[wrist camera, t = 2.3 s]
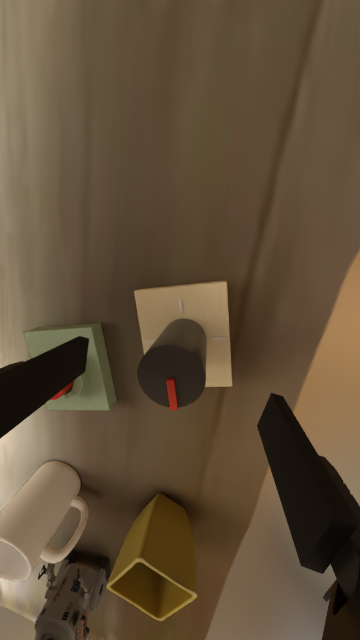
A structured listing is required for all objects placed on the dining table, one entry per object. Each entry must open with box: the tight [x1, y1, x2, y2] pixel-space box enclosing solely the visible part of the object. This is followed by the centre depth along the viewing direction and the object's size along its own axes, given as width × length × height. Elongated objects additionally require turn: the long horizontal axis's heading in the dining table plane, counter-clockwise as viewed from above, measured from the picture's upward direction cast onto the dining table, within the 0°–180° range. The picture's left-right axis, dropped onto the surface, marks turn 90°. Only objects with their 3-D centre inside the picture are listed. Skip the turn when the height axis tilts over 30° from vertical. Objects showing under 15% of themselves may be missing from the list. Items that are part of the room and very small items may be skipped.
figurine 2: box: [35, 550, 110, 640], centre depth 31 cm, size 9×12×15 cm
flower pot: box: [107, 493, 197, 621], centre depth 28 cm, size 9×9×9 cm
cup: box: [0, 461, 89, 581], centre depth 29 cm, size 8×12×10 cm
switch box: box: [23, 323, 117, 410], centre depth 26 cm, size 12×10×4 cm
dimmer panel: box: [134, 280, 232, 387], centre depth 23 cm, size 12×10×3 cm
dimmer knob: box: [138, 319, 207, 410], centre depth 17 cm, size 5×5×8 cm
